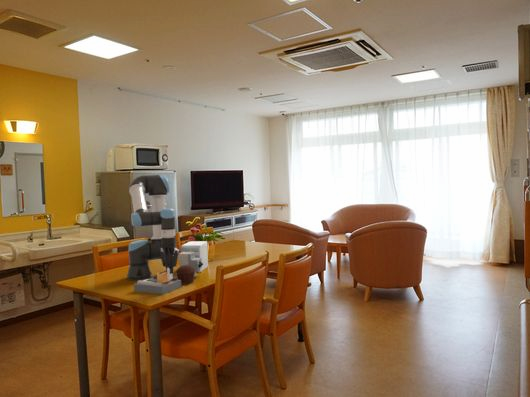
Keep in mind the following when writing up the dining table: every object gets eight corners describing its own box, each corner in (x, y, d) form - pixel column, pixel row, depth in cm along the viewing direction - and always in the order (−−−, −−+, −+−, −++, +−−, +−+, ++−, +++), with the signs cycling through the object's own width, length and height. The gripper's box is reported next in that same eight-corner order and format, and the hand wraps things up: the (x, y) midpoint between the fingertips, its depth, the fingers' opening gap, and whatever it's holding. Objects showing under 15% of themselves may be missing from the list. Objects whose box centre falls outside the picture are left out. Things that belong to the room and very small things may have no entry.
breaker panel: (134, 291, 223) (133, 281, 223) (153, 284, 238) (153, 274, 238) (162, 294, 215) (162, 284, 215) (181, 286, 229) (180, 277, 229)
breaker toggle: (157, 282, 222) (156, 272, 222) (164, 279, 228) (163, 270, 228) (163, 283, 221) (162, 273, 220) (170, 280, 226) (169, 270, 226)
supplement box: (190, 266, 284) (189, 241, 283) (208, 266, 282) (207, 241, 281) (181, 272, 267) (180, 245, 266) (200, 272, 265) (199, 245, 264)
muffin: (180, 285, 232) (180, 268, 232) (172, 282, 241) (172, 265, 241) (199, 282, 239) (198, 265, 239) (191, 278, 248) (190, 262, 247)
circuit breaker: (200, 278, 249) (199, 254, 248) (178, 277, 252) (178, 253, 251) (204, 275, 256) (204, 252, 255) (183, 274, 259) (182, 251, 258)
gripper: (154, 237, 221) (156, 279, 222) (173, 238, 215) (175, 281, 216) (163, 235, 227) (165, 276, 229) (182, 236, 222) (183, 278, 223)
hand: (170, 279), depth 223 cm, fingers closed
